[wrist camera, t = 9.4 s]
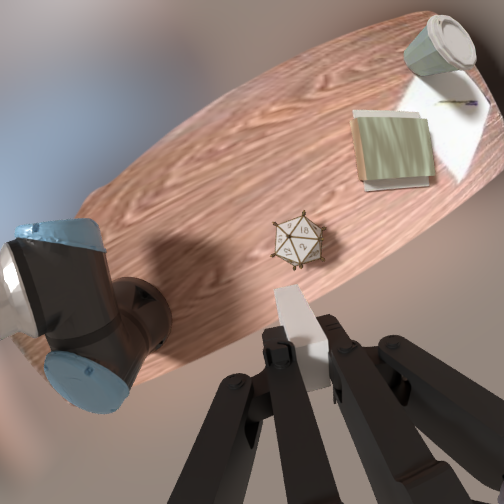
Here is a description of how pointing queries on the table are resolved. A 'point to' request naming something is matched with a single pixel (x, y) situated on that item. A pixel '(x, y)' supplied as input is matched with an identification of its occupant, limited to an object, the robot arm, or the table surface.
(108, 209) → the table surface
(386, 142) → the wooden block
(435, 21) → the disposable coffee cup
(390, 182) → the mat
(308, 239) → the game die
